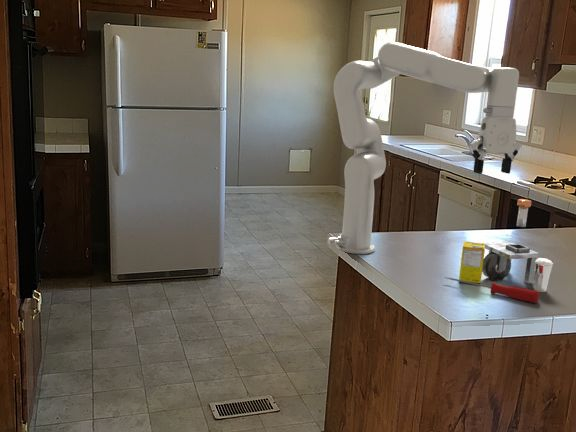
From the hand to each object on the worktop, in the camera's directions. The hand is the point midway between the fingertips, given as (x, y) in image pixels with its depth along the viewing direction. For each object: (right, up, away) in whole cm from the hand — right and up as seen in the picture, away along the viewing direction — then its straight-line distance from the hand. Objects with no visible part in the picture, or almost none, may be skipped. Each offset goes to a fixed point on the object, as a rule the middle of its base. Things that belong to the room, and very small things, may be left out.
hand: (491, 172), depth 172 cm
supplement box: (-7, -31, -1) cm, 32 cm away
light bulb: (+8, -15, -2) cm, 17 cm away
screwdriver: (-4, -34, -9) cm, 35 cm away
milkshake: (+12, -33, -5) cm, 36 cm away
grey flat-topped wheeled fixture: (+4, -31, +3) cm, 31 cm away
